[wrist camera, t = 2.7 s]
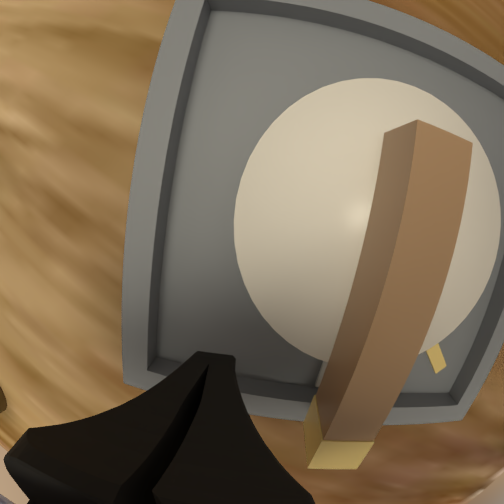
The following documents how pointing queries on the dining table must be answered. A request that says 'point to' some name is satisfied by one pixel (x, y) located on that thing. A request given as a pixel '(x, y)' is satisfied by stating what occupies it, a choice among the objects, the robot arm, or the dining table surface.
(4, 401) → the cork
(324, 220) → the dial
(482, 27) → the dining table surface
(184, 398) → the robot arm
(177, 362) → the slate tray
